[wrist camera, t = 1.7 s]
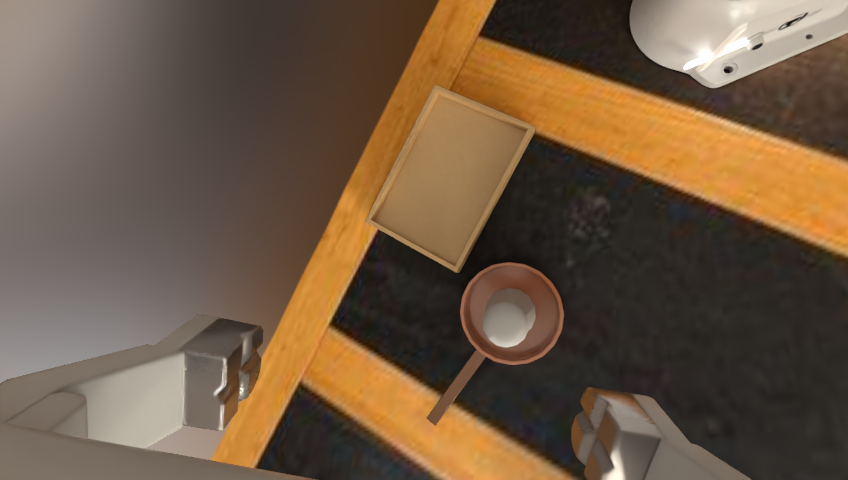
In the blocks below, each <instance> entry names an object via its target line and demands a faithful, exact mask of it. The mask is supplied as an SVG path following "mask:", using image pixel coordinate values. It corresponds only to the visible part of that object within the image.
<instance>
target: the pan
mask: <svg viewBox="0 0 848 480" xmlns="http://www.w3.org/2000/svg"><path fill="white" fill-rule="evenodd" d="M506 288H513V289H518V290H521V291H522V292H524V293H525V294H526V295H528V296H529V297H530V299H531V300H532V302H533V304H534V306H535V313H536V319H535V321H534V324H533V326H532V328H531V329H530V330H529V331H528V332H527V334H526V337H525V339H524V340H523V341H521V342H520V343H519V344H518V345H515V346H511V347H507V348H506V347H501V346H497V345H495V344H494V343H493V342H491V341H490V340H489V339H488V338H487V336H486V334H485V332H484V330H483V317H484V315H485V312H486V305H487V303H488V301H489V299H490V297H491V296H492V295H493V294H495V293H496V292H497V291H498V290H502V289H506ZM460 315H461V321H462V327H463V329H464V331H465V333H466V335H467V337H468V339H469V341H470V342H471V344H472V345H473V346H474V347H475V348H476V349H477V350H478V351H479V352H480V353H481V354H483V355H485V356H486V357H488V358H490V359H492V360H493V361H495V362H500V363H505V364H509V365H516V364H526V363H530V362H532V361H534V360H536V359H538V358H541V357H542V356H544V355H545V354H546V353H547V352H548V351H549V350H550V349H551V348H552V347H553V346H554V345H555V343H556V341H557V339H558V337H559V335H560V333H561V332H562V326H563V319H564V311H563V306H562V301H561V297H560V295H559V294H558V292H557V290H556V288H555V287H554V285H553V283H552V282H551V281H550V280H549V279H548V278H547V277H545V276H544V275H543V274H542V273H541V272H540V271H538V270H536V269H534V268H532V267H530V266H528V265H525V264H519V263H512V262H506V263H500V264H494V265H492V266H490V267H488V268H486V269H484V270H482V271H480V272H479V273H478V274H477V275H476V276H475V277H474V278H473V279H472V280H471V281H470V282H469V283H468V285H467V288H466V290H465V292H464V294H463V296H462V301H461V308H460Z"/></svg>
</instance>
